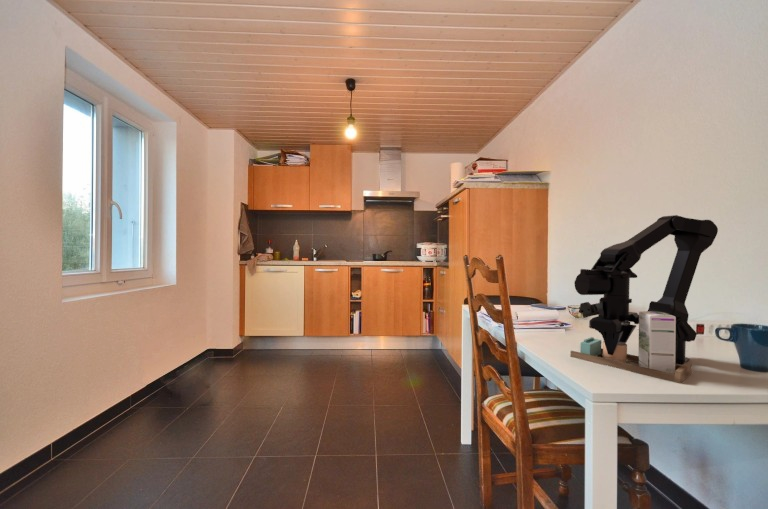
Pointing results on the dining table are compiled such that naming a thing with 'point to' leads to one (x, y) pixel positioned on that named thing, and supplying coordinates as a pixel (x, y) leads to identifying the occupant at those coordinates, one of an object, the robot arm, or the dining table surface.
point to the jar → (617, 352)
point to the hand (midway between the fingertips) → (614, 352)
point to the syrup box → (657, 341)
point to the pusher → (591, 346)
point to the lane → (678, 377)
